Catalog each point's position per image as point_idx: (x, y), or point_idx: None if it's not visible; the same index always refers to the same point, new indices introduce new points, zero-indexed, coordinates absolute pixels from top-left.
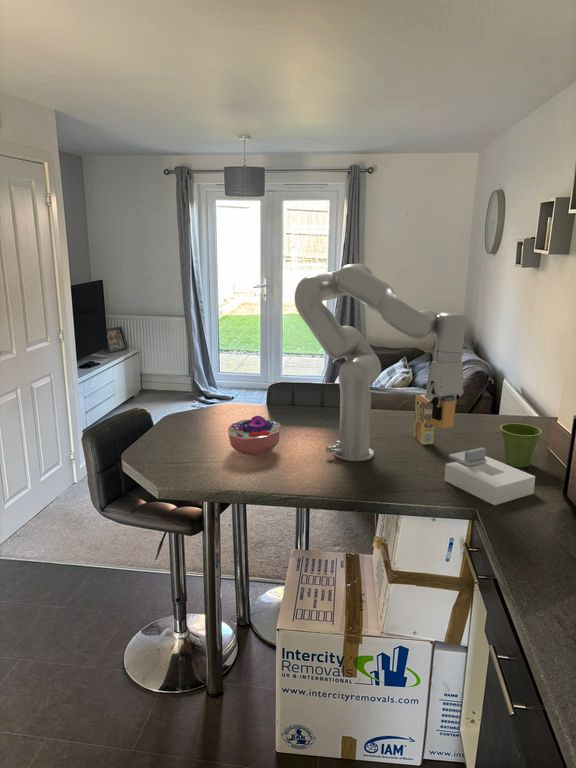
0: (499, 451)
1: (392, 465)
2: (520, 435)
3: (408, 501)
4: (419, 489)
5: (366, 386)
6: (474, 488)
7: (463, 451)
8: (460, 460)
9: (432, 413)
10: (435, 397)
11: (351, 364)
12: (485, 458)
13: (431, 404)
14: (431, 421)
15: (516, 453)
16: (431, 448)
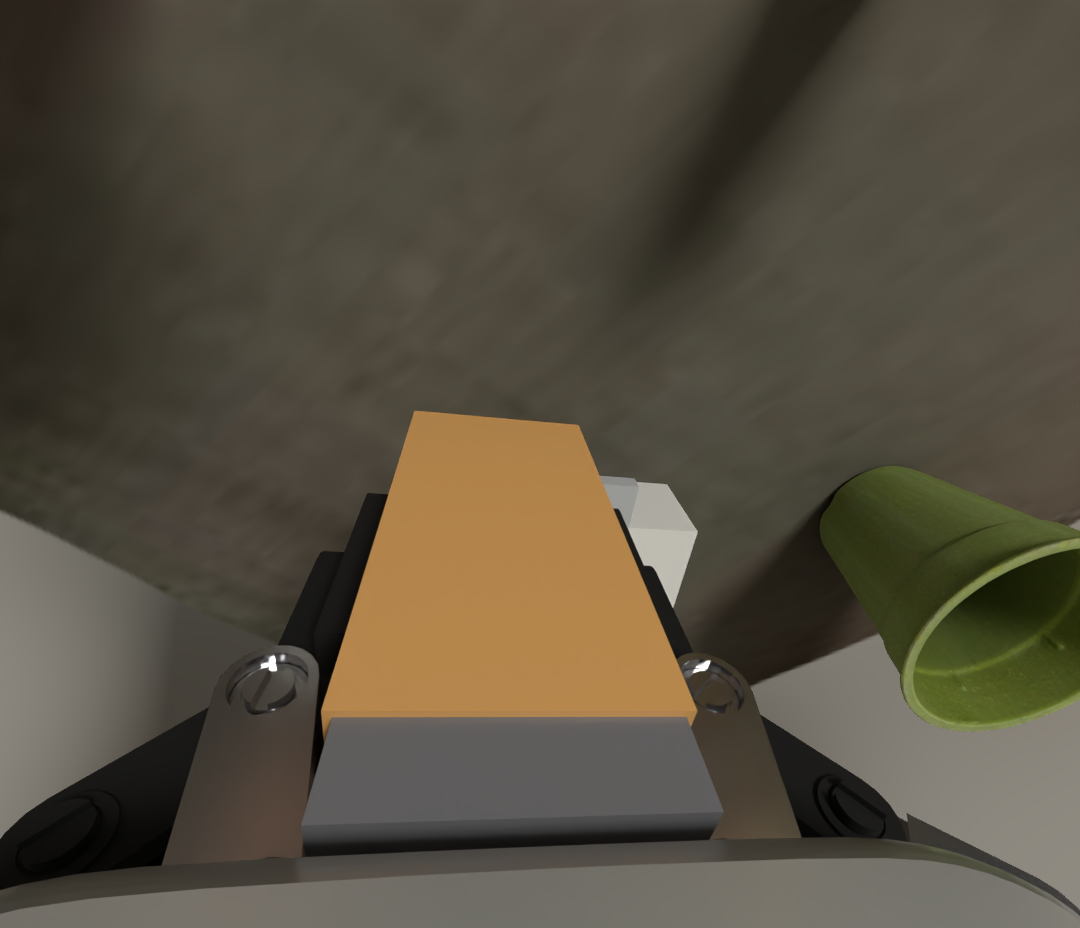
0: (1004, 366)
1: (272, 100)
2: (905, 698)
3: (76, 530)
4: (213, 470)
5: None
6: None
7: (615, 485)
8: None
9: (312, 569)
10: (253, 858)
11: None
12: (658, 564)
13: (236, 665)
14: (411, 431)
15: (852, 586)
16: (798, 24)
